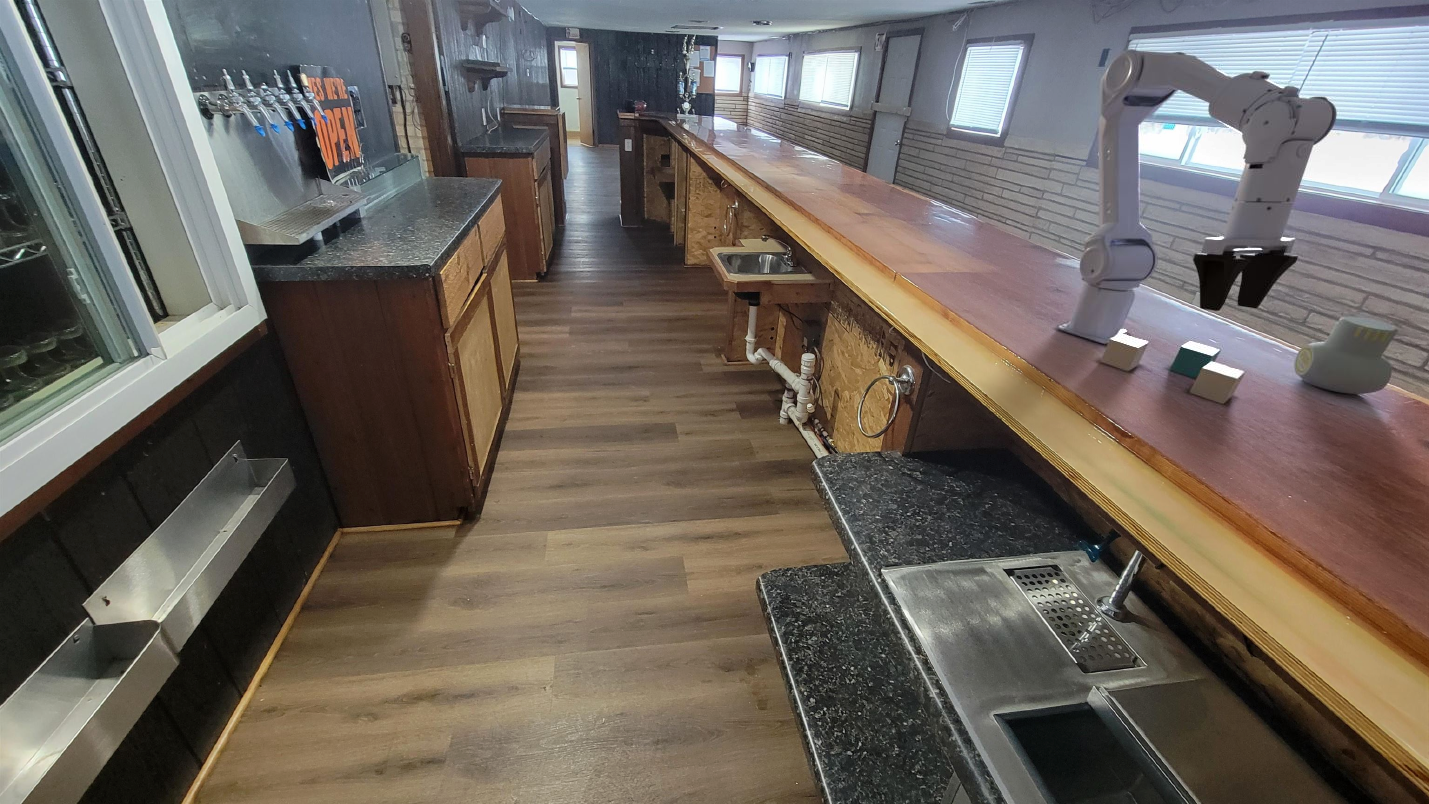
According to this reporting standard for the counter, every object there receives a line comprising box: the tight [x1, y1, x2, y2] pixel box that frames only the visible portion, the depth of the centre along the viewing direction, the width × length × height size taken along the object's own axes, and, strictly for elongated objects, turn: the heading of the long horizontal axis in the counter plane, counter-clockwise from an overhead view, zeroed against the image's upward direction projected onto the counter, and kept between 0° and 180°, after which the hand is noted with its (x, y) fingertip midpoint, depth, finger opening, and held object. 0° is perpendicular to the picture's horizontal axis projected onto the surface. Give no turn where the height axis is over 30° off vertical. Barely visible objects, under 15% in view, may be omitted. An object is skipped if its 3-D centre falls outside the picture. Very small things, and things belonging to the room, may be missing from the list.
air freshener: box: [1293, 315, 1399, 395], centre depth 82 cm, size 11×8×10 cm
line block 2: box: [1189, 361, 1246, 405], centre depth 80 cm, size 4×4×4 cm
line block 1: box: [1100, 334, 1149, 372], centre depth 88 cm, size 4×4×4 cm
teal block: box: [1169, 340, 1221, 380], centre depth 86 cm, size 4×4×4 cm
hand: (1228, 308), depth 77 cm, fingers open, 7 cm apart
